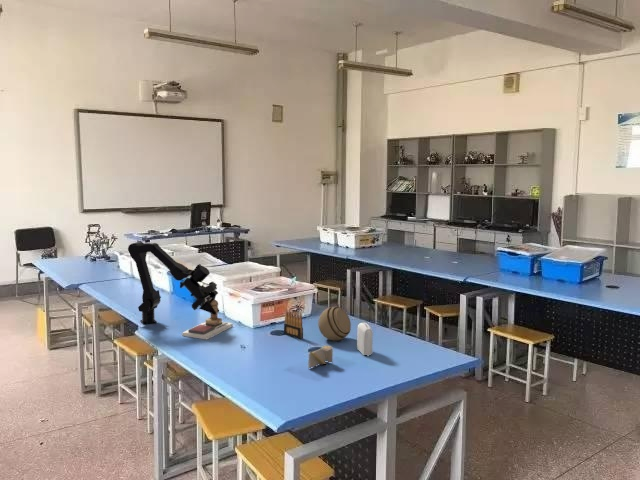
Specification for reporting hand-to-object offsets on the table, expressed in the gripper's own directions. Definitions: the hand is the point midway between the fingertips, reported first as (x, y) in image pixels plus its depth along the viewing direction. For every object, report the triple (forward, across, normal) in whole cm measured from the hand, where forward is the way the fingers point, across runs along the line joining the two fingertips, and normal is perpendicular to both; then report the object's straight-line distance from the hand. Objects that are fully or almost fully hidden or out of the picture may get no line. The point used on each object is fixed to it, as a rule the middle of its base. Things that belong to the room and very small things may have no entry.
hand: (217, 312), depth 258 cm
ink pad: (+2, -10, +6) cm, 12 cm away
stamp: (+3, 0, +5) cm, 6 cm away
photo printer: (+56, -16, -45) cm, 74 cm away
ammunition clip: (+32, -2, -21) cm, 39 cm away
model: (+47, -36, -35) cm, 69 cm away
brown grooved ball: (+46, -2, -35) cm, 57 cm away
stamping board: (+4, -5, +7) cm, 9 cm away
